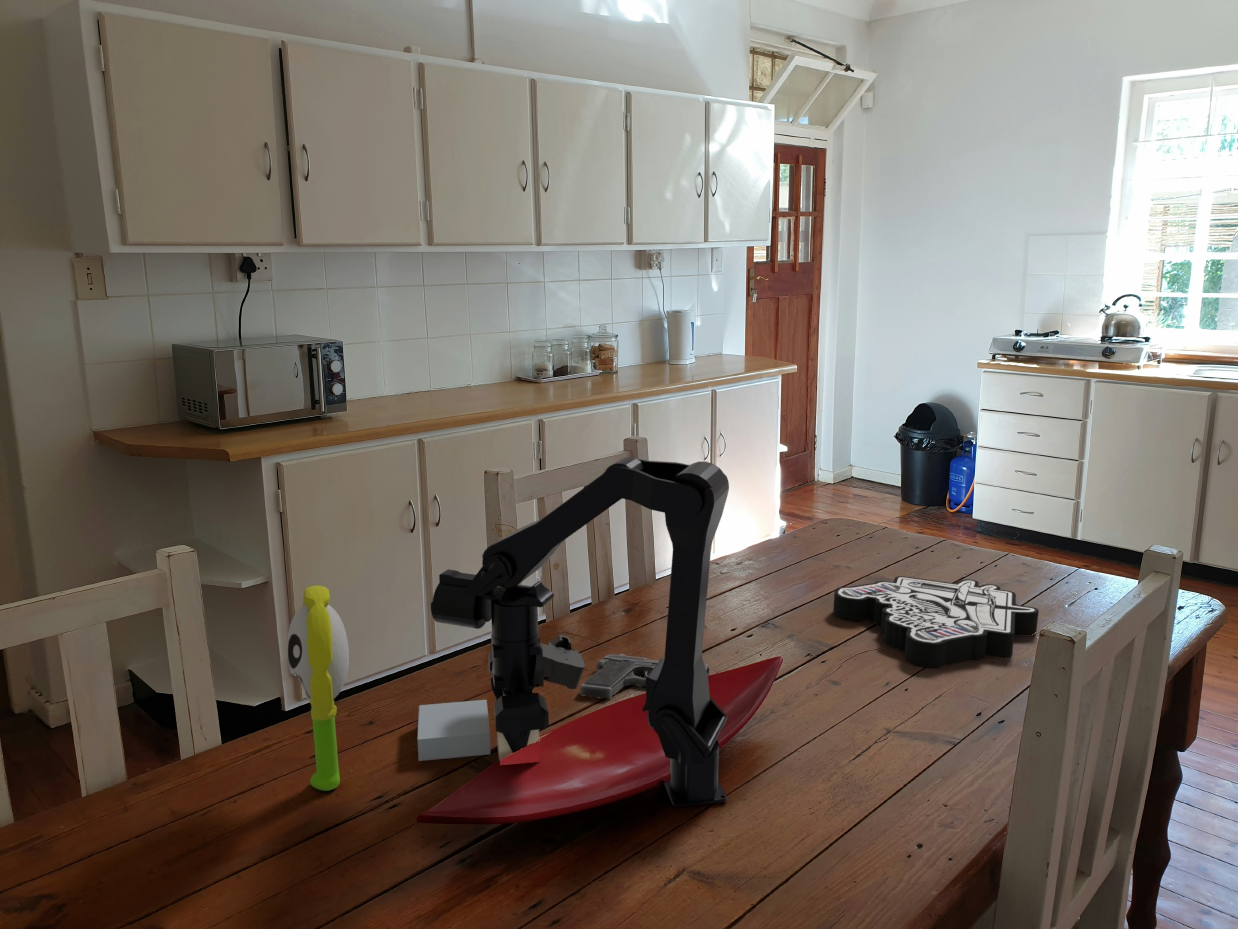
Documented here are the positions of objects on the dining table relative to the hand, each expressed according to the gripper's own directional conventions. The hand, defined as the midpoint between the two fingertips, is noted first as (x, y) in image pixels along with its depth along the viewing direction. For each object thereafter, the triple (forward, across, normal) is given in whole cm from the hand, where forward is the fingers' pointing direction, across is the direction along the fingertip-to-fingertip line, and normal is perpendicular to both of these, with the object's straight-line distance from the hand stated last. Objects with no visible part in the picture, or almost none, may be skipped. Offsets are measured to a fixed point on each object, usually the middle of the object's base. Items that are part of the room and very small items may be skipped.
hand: (518, 746), depth 118 cm
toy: (+1, -3, +23) cm, 23 cm away
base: (+1, +5, +8) cm, 9 cm away
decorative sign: (+2, +28, -75) cm, 80 cm away
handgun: (+2, +16, -20) cm, 26 cm away
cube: (+1, 0, 0) cm, 1 cm away
